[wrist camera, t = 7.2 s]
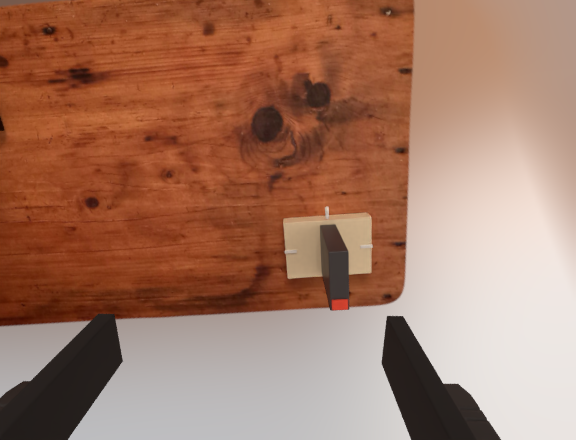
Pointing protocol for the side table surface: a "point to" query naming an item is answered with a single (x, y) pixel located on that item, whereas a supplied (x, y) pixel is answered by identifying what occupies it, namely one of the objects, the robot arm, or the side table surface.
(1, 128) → the latch bracket
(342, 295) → the thumbturn
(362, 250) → the plate
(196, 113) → the side table surface
